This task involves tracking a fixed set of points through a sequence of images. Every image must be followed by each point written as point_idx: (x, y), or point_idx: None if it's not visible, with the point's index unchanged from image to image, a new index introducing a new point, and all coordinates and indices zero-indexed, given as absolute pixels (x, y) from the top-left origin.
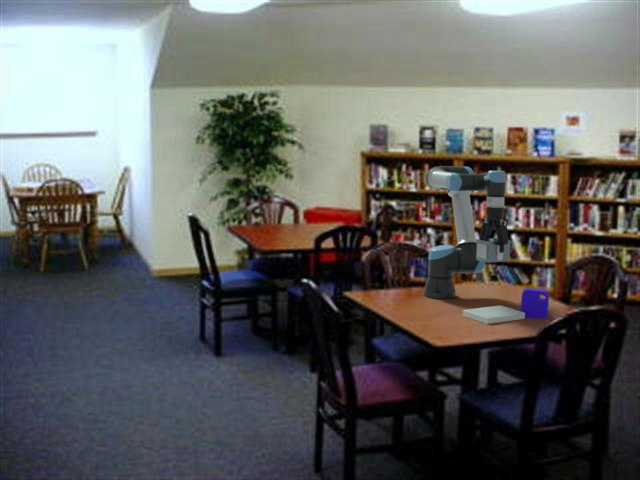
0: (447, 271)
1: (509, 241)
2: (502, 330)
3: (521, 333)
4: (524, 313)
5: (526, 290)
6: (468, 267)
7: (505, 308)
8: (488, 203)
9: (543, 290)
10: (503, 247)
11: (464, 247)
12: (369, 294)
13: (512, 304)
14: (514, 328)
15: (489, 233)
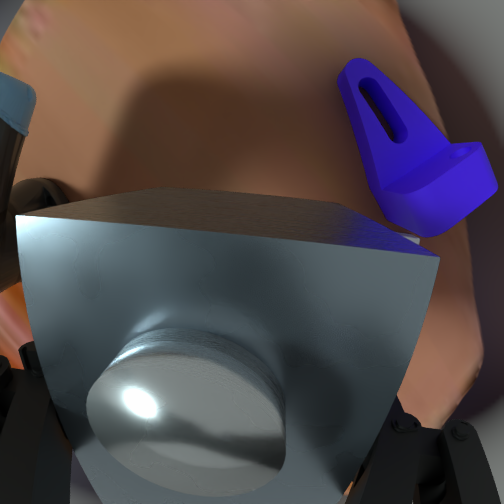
0: (7, 260)
1: (423, 279)
2: (427, 378)
3: (466, 357)
4: (418, 241)
5: (445, 230)
6: (10, 171)
7: None
8: None
9: (483, 170)
10: (397, 409)
11: None
12: (12, 361)
13: (242, 90)
14: (441, 343)
15: (49, 497)
